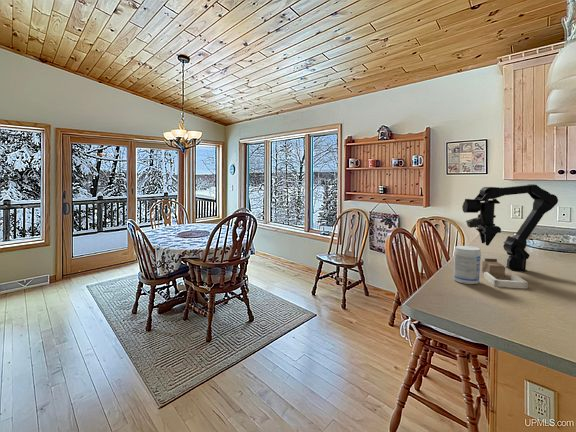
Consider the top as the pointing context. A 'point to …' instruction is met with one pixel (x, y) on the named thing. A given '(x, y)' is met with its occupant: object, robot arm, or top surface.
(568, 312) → the top surface
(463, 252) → the supplement tub
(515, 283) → the bay
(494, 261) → the block
